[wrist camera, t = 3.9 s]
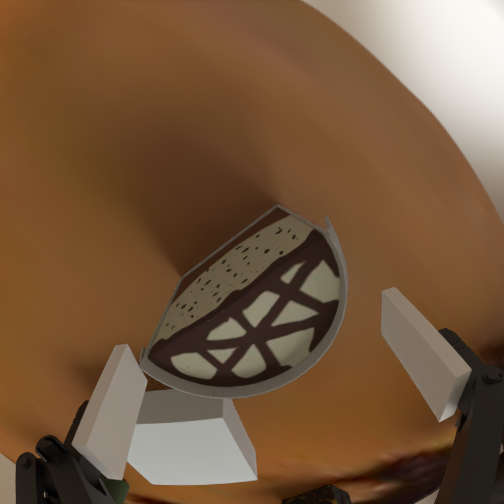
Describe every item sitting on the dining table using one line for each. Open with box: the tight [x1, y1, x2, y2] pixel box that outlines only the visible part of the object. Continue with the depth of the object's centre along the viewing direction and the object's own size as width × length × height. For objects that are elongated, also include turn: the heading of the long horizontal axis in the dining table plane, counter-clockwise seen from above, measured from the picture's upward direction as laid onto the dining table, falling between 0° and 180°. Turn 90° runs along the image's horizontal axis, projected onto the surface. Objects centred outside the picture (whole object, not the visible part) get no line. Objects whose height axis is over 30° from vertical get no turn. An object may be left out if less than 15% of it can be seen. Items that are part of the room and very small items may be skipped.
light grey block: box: [127, 389, 258, 485], centre depth 27 cm, size 14×14×5 cm
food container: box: [139, 204, 348, 399], centre depth 18 cm, size 12×6×10 cm, turn 127°
